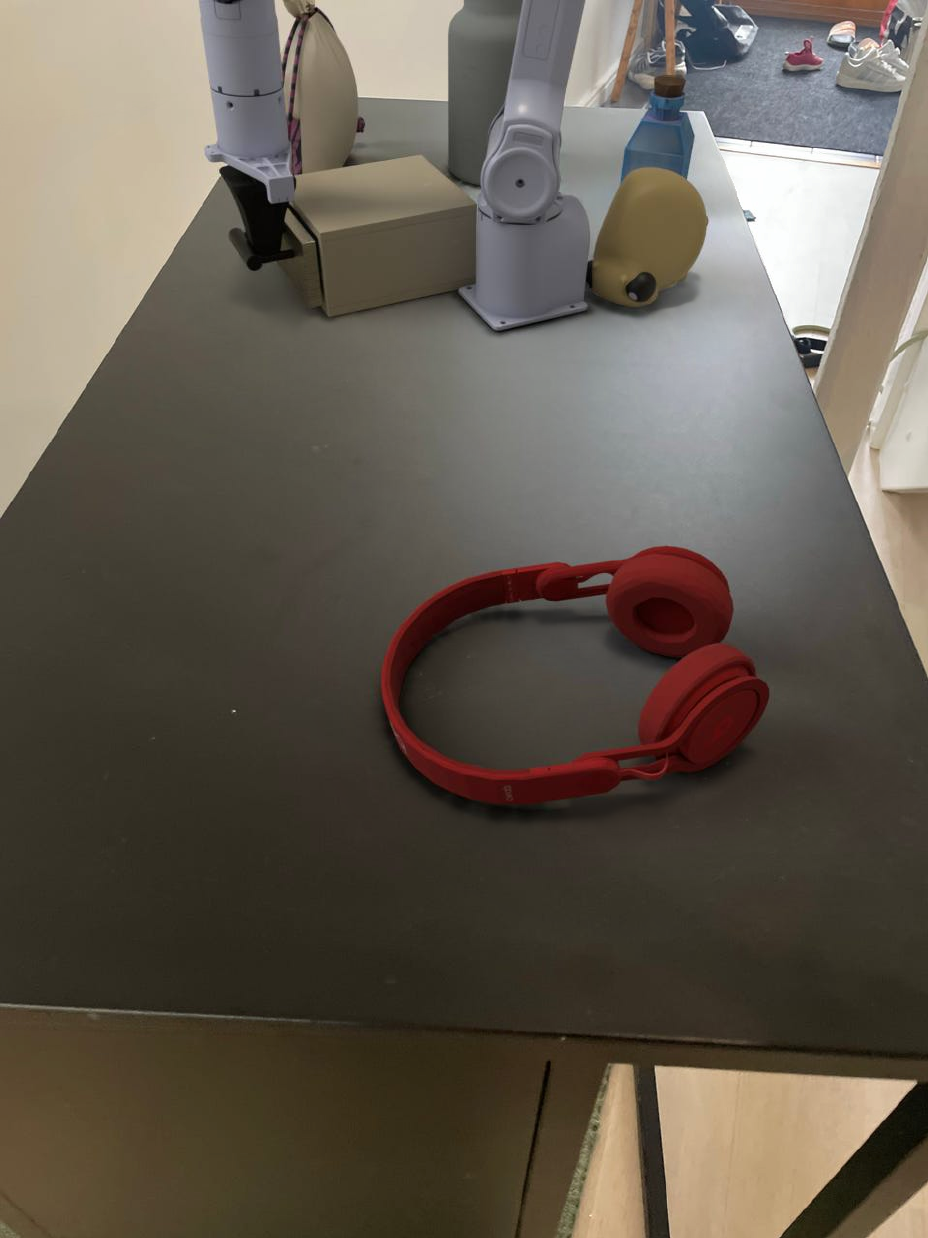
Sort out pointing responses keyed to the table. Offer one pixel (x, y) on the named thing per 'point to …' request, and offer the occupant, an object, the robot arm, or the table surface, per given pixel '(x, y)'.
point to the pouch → (318, 92)
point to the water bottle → (478, 79)
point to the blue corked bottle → (662, 131)
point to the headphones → (647, 616)
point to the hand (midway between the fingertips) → (266, 253)
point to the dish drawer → (287, 257)
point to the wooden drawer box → (387, 232)
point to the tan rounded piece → (647, 237)
